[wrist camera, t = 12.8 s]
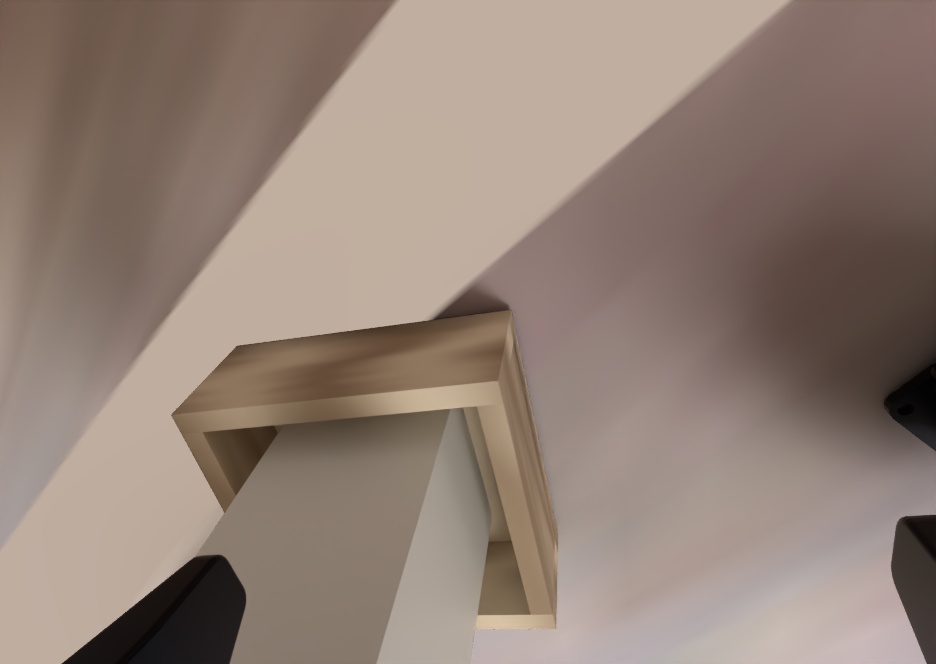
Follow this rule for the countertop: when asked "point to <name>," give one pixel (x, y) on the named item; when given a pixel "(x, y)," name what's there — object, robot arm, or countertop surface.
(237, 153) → the countertop surface
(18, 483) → the countertop surface
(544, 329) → the countertop surface
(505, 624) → the beech crate
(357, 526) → the grey tote
